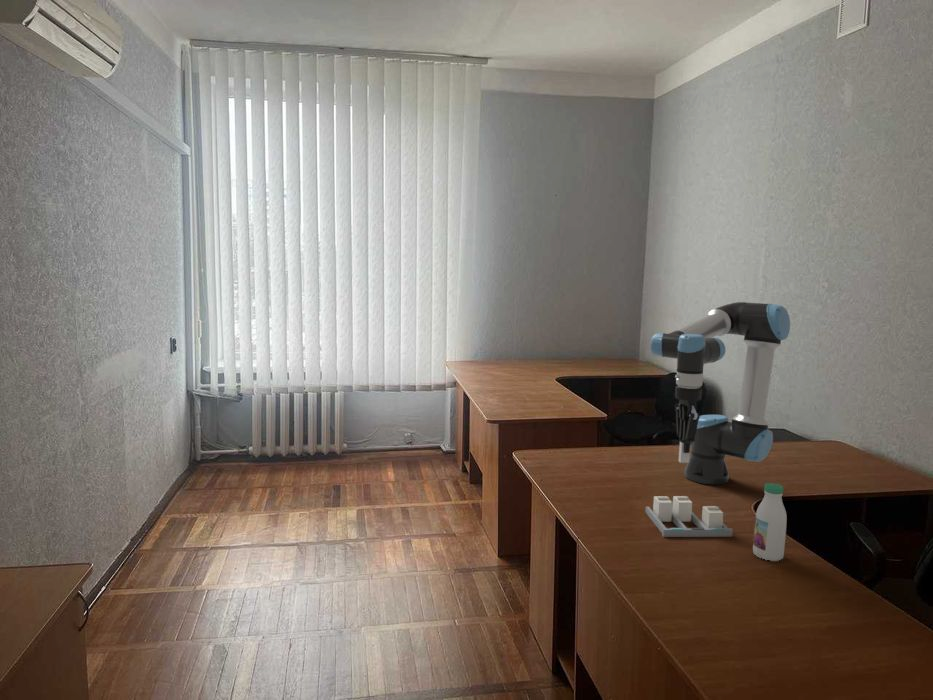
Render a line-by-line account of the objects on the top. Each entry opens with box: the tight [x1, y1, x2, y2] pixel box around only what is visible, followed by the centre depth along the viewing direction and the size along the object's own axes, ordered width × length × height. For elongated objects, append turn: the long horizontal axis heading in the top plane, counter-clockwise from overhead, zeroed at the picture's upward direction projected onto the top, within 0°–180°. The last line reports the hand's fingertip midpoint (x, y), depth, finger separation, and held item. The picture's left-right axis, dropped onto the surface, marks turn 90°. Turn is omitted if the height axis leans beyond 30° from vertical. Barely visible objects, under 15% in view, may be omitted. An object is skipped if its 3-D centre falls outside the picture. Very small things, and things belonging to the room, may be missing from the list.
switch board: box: [645, 506, 734, 538], centre depth 199 cm, size 20×18×4 cm
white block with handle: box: [652, 495, 673, 523], centre depth 202 cm, size 4×5×7 cm
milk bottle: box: [752, 482, 788, 562], centre depth 181 cm, size 8×8×20 cm
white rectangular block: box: [701, 505, 724, 528], centre depth 195 cm, size 4×5×7 cm
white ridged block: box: [672, 495, 693, 523], centre depth 202 cm, size 4×5×7 cm
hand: (683, 461), depth 203 cm, fingers closed
